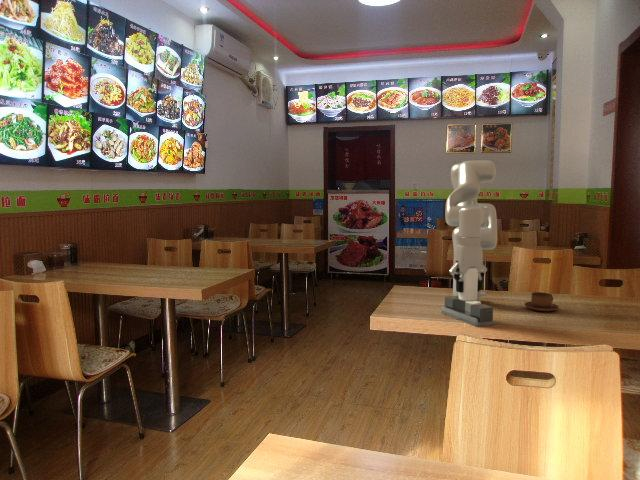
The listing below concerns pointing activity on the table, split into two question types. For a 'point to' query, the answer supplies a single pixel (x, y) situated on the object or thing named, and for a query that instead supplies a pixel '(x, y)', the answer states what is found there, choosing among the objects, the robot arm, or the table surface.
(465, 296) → the can
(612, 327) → the table surface
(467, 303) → the block
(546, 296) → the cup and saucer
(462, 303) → the gray slotted holder
